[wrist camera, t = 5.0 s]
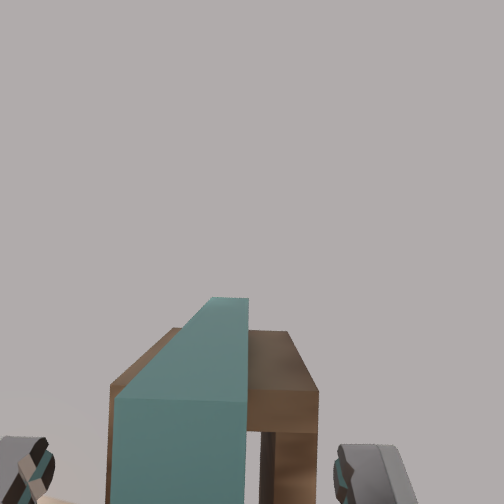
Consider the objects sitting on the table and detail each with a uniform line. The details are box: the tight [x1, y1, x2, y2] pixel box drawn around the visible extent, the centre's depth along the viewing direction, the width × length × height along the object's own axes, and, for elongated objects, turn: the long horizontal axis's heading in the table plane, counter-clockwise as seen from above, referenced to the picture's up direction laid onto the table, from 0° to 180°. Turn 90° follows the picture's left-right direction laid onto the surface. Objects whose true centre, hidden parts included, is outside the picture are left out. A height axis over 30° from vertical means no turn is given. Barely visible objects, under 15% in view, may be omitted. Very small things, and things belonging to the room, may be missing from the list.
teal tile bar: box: [110, 297, 249, 504], centre depth 18 cm, size 3×21×3 cm, turn 0°
